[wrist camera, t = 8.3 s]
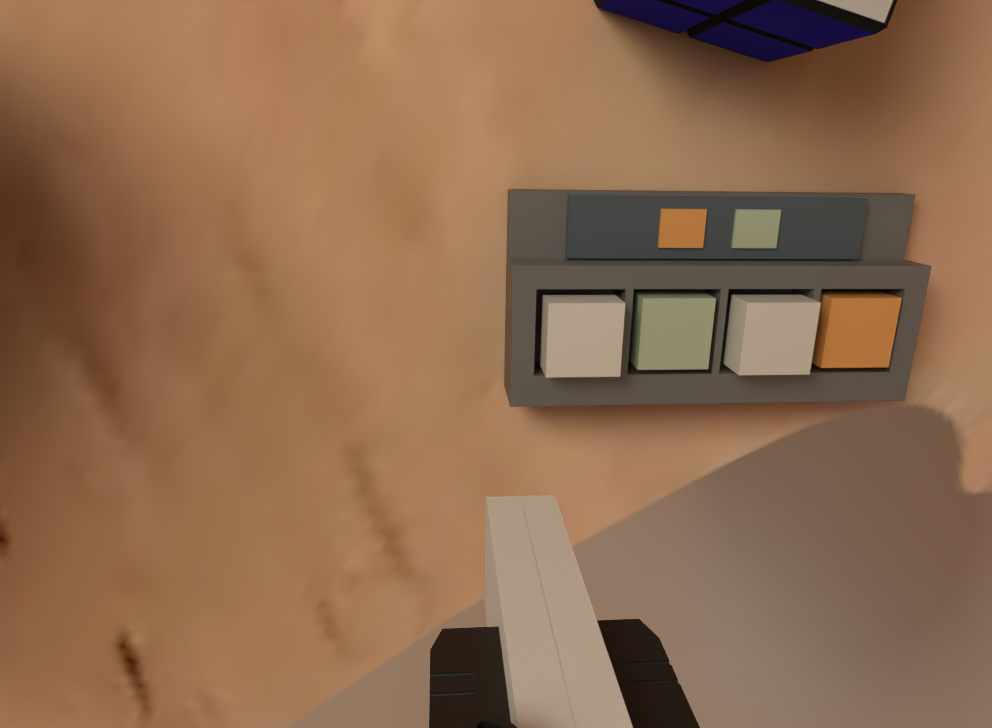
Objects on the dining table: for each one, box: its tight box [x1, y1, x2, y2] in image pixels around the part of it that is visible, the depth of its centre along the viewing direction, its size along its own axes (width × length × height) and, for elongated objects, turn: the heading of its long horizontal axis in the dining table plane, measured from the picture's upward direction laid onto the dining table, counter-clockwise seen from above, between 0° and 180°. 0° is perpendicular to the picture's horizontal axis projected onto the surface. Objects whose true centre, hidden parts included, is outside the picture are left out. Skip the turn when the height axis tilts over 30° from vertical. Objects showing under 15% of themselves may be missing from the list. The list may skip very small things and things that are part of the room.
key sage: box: [629, 291, 716, 370], centre depth 37 cm, size 4×4×2 cm
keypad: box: [504, 189, 931, 407], centre depth 38 cm, size 22×11×4 cm, turn 89°
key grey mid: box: [723, 295, 821, 375], centre depth 36 cm, size 4×4×2 cm
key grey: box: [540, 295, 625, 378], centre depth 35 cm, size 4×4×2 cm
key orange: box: [812, 291, 902, 368], centre depth 38 cm, size 4×4×2 cm
